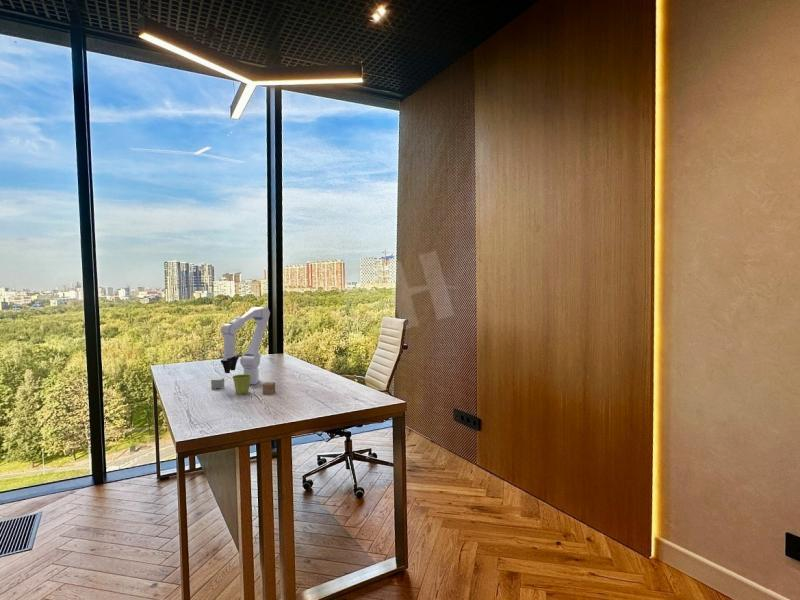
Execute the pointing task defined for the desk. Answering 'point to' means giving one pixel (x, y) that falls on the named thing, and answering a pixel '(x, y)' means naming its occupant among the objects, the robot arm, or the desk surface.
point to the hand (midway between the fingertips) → (230, 371)
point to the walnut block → (269, 387)
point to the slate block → (217, 383)
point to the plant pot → (241, 383)
